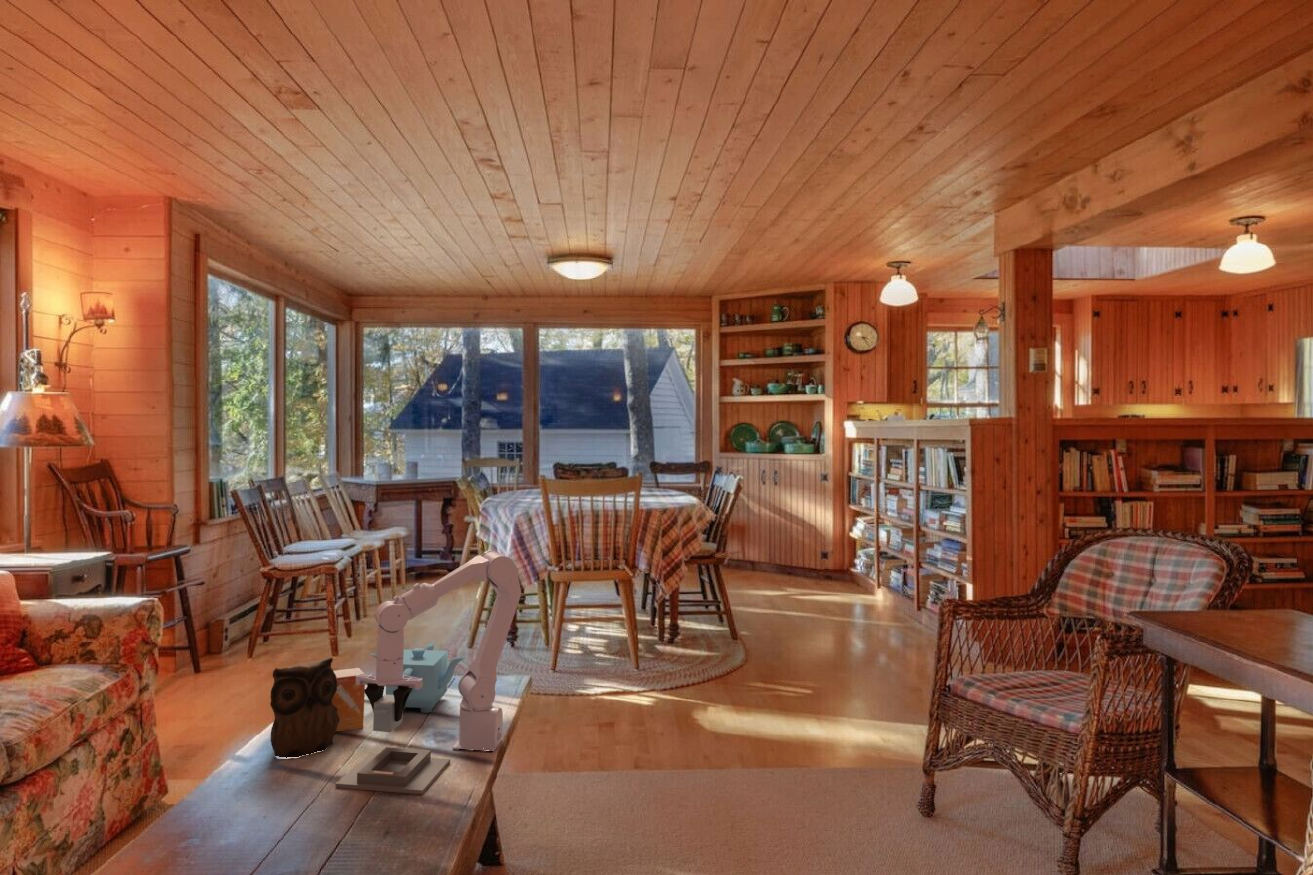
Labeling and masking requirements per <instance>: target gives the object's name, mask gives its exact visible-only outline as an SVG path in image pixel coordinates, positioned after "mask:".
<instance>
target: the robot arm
mask: <svg viewBox="0 0 1313 875" xmlns="http://www.w3.org/2000/svg"><path fill="white" fill-rule="evenodd" d="M471 581H474V582H484V583H485V582H488V581H489V583H490V584H491V586H492V588H493V590H494V591H495V593H496V597H495V601H494V604H493V606H492V608H491V612H490V615H489V618H488V620H487V624H486V626H485V630H484V632H483V635H482V638H481V641H480V644H479V646H478V649H477V652H476V655H475V658H474V660H473V661H472V662H471V663H470V664H469V665H468V668H467V670H466V672H465V673H464V674H463V675H462V676H461V678H460V679H459V682H458V685H457V686H458V693H459V694H460V695H461V697H462V699H461V702H460V703H459V729H458V730H459V732H458V733H459V734H458V740H457V742H455V744H454V745H453V746H452V749H453V750H459V749H473V750H489V751H493V752H495V750H496V749H497V748H498V747H499V746H500V744H501V743H502V741H503V739H504V738H503V718H504V717H503V708H502V707H500V706H499V707H498V706H495V705H493V703H494V701H495V699H496V689H495V688H496V684H497V679H498V678H497V677H498V676H497V667H498V664H499V660H500V658H501V654H502V651H503V649H504V646H505V642H506V640H507V638H508V635H509V631H510V628H511V626H512V625H511V624H512V623H513V619H514V616H515V614H516V612H517V608H518V606H519V602H520V599H521V596H522V590H521V585H520V578H519V568H518V567H517V565H516V564H515V562H514V561H513V559H511V558H510V557H508V556H506V555H503V554H502V553H500V552H499V551H497V550H494V549H493V550H491V549H490V550H487V551H484V552H483V553H482V554H481V555H480V554H479V555H476V556H473V558H471V559H470V560H468V561H467V562H466V563H464V564H462V565H461V566H459V567H458V568H455V569H454V570H453V571H451V572H449V573H448V574H446V575H445V576H443V577H441V578H440V579H438V580H436V581H435V582H432V583H428V582H423V583H418V582H417V583H415V584H413V585H412V589H410V590H408V591H406V592H404V593H402V594H401V595H399V596H398V595H395V596H393V597H392V598H393V600H386V601H384V602H382V603H381V604H379V605H378V608H377V609H376V612H375V613H374V618H375V620H376V622H377V623H378V625H377V629H376V630H377V632H376V633H377V636H376V647H375V648H376V652H375V654H376V658H375V673H364V674H359V675H357V676H356V685H361V684H363V685H365V686H366V687H365V695H366V697H367V699H368V702H369V704H370V706H371V709H372V711H373V709H374V703H375V702H376V701H378V700H379V699H380V698H382V697H383V696H384V691H385V688H386V686H391V687H398V689H396V690H394V691H393V695H394V701H395V716H394V717H395V721H397V722H398V721H399V720H400V719H402V720H403V716H402V714H403V715H404V711H405V710H404V707H405V704H406V701H407V699H408V697H409V695H410V693H411V691H412V689H413V688H415V689H417V690H419V689H421V688H422V687H423V678H416V677H411V676H406V675H403V658H404V657H403V656H404V649H405V647H404V646H405V636H404V631H405V629H404V628H405V627H406V625H407V623H408V621H410V620H412V619H414V618H416V617H418V616H419V615H421V614H423V613H425V612H427V611H428V610H431V609H432V608H433V607H435V606H437V604H438V601H439V599H440V597H442V596H444V595H445V594H448V593H450V592H452V591H453V590H456V589H458V588H460V587H462V586H463V585H465V584H468V583H469V582H471ZM405 708H406V707H405ZM372 713H373V712H372ZM373 715H374V713H373ZM483 748H484V749H483ZM473 750H472V751H473Z"/></svg>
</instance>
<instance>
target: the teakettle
mask: <svg viewBox="0 0 1313 875" xmlns="http://www.w3.org/2000/svg"><path fill="white" fill-rule="evenodd" d="M434 647H435V642H430V643H428V644H427V646H426V648H423V647H415V648H412V649H405V648H404V656H403V657H404V658H403V675H406V676H411V677H416V678H423V687H422V688H421V689H419V690H417V689H415V688H413V689H412V691H411V693H410V695H409V697H408V699H407V701H406V704H405V707H404V710H403V711H405V710H406V708H416V709H417V708H418V709H420V712H421V713H423V714H424V713H426V714H427V713H431V712H433V708H434V707H435V706H436V704H438V703H440V702H441V699H442V698H443V696H444V695H445V694H446V693H447V691H448V689H447V688H448V685H449V683H450V682H451V681H452V679H453V675H454V673H455V669H456V667H457V665H458V664H459V663H460V662H462V661H463V660H465V659H467V657H466V656H456V657H454V658H452V659H451V660H450V662H449V664H448V660H449V651H448V650H434ZM370 656H371V657H373V658H375V659H376V653H370ZM396 689H398V687H391V686H385V695H393V691H394V690H396Z"/></svg>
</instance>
